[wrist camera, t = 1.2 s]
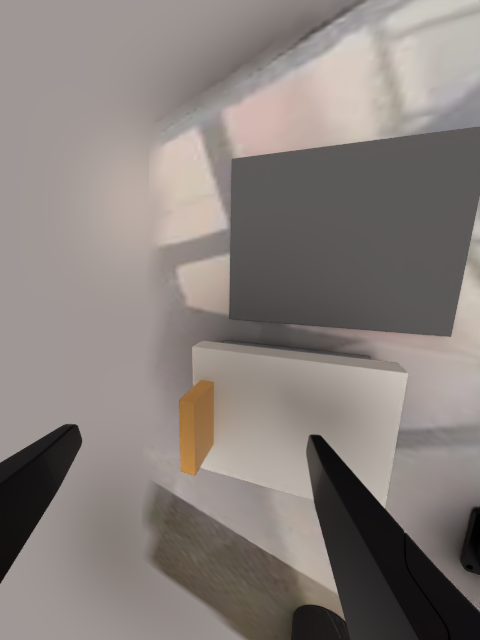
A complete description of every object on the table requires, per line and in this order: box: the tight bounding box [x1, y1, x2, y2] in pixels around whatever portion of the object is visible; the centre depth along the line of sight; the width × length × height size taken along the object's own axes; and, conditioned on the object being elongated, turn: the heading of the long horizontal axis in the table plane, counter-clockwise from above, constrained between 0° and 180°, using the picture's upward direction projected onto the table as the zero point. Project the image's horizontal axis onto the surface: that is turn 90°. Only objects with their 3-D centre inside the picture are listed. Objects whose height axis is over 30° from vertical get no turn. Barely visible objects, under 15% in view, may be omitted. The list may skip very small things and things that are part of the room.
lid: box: [179, 341, 408, 508], centre depth 18 cm, size 12×16×6 cm
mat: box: [229, 127, 480, 337], centre depth 20 cm, size 15×19×1 cm
